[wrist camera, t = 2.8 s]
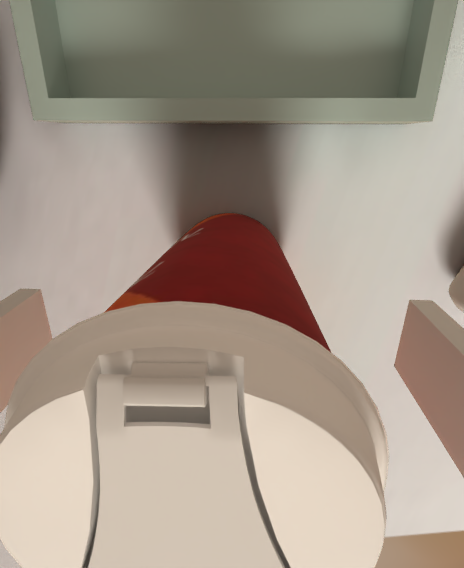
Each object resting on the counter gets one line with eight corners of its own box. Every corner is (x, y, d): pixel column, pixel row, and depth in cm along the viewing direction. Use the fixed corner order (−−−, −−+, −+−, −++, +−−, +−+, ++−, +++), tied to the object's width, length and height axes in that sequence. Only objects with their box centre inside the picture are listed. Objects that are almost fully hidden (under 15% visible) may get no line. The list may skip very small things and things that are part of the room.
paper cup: (153, 192, 17) (-133, 346, 4) (305, 189, 17) (476, 351, 4) (168, 325, 20) (25, 644, 8) (297, 326, 20) (379, 667, 7)
